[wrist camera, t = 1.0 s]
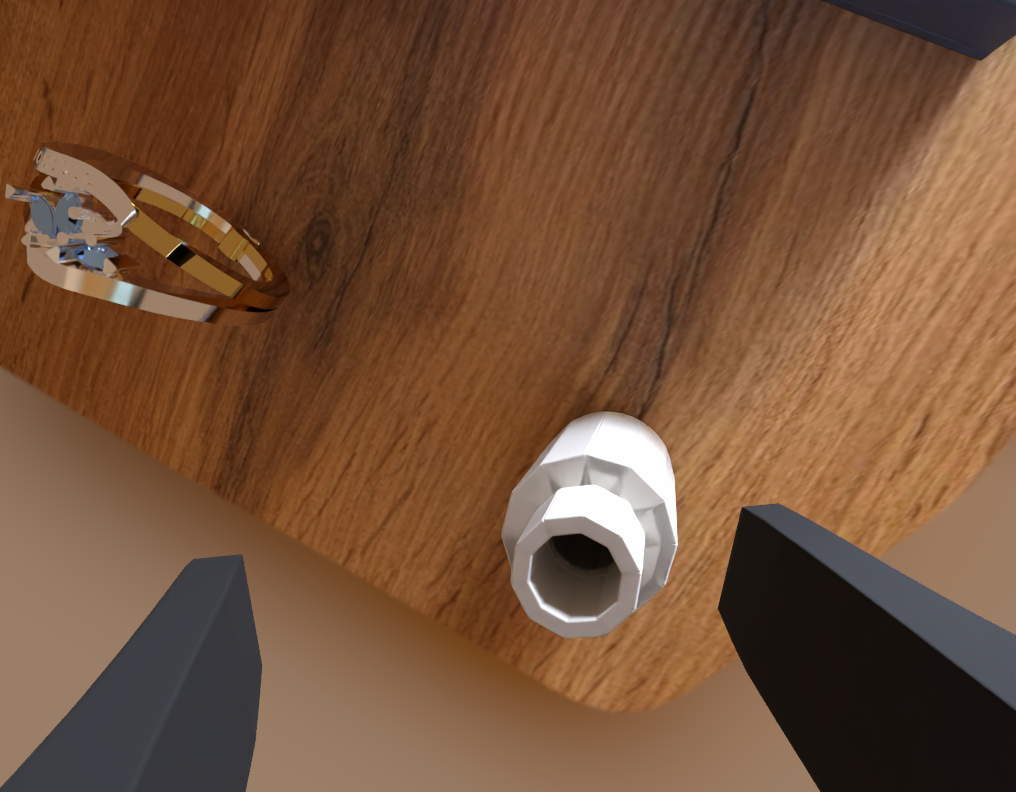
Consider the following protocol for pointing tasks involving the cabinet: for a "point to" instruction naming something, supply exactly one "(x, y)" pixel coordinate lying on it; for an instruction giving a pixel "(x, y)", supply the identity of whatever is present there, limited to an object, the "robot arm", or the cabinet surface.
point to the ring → (93, 233)
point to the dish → (945, 21)
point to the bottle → (592, 526)
